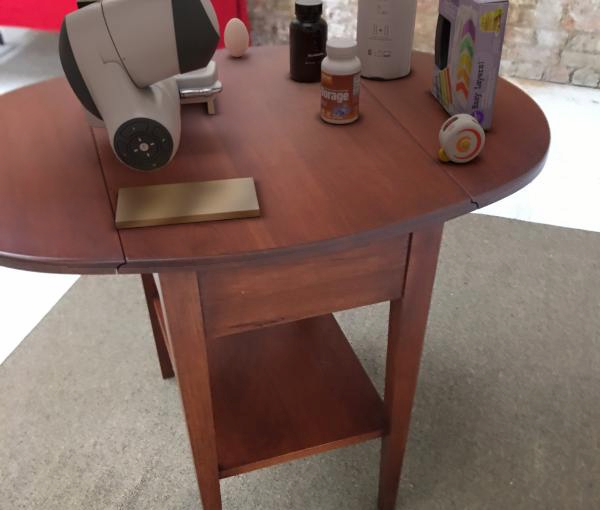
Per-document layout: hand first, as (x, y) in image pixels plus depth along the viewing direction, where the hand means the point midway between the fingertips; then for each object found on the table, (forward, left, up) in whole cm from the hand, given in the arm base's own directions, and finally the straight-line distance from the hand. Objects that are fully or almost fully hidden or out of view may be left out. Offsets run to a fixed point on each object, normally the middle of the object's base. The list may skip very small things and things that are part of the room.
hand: (149, 65), depth 96 cm
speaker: (+41, +18, -9) cm, 46 cm away
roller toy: (+43, -20, -9) cm, 49 cm away
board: (+4, -27, -9) cm, 29 cm away
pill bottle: (+29, -2, -9) cm, 30 cm away
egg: (+15, +32, -9) cm, 36 cm away
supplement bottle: (+27, +18, -9) cm, 33 cm away
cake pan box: (+49, -3, -9) cm, 49 cm away
